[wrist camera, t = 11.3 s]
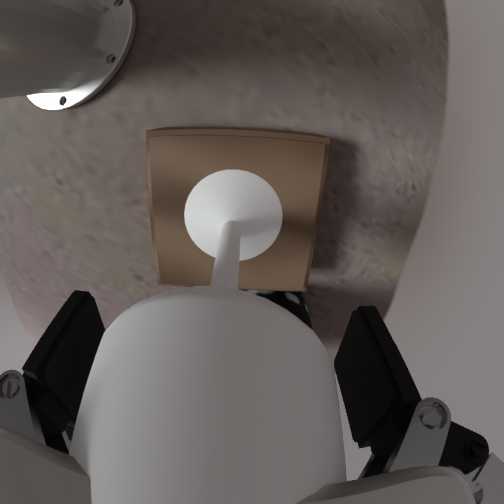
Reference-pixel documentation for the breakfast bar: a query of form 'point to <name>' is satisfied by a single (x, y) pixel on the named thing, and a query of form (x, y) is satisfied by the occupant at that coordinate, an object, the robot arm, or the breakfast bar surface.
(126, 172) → the breakfast bar surface
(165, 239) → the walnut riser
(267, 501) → the champagne flute
